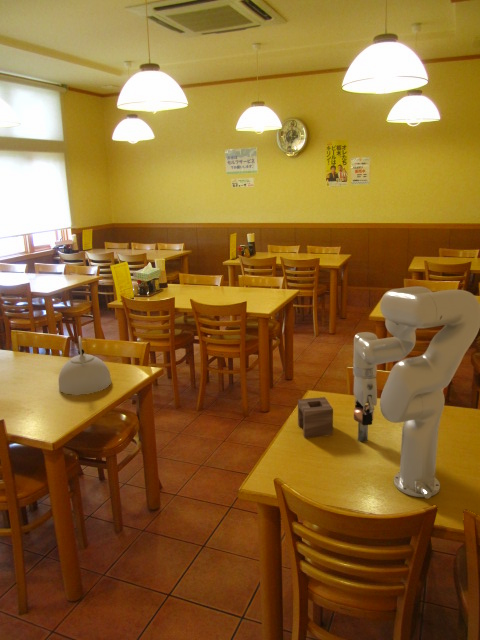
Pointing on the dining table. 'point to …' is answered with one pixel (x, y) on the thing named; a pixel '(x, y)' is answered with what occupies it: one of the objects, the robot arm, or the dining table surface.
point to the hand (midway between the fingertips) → (363, 419)
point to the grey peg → (361, 428)
